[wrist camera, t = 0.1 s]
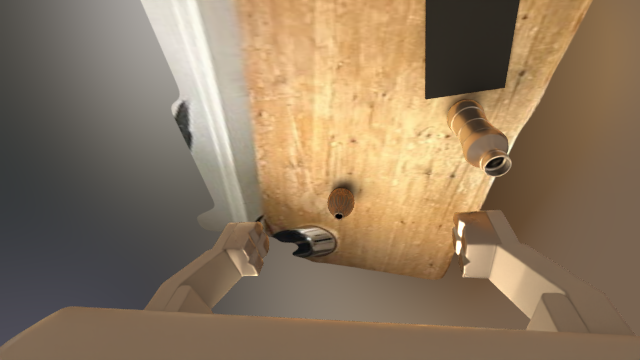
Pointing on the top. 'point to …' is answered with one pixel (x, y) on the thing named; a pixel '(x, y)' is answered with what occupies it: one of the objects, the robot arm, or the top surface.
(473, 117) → the plastic bottle
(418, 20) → the top surface
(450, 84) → the mat
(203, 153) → the top surface
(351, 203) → the vase
